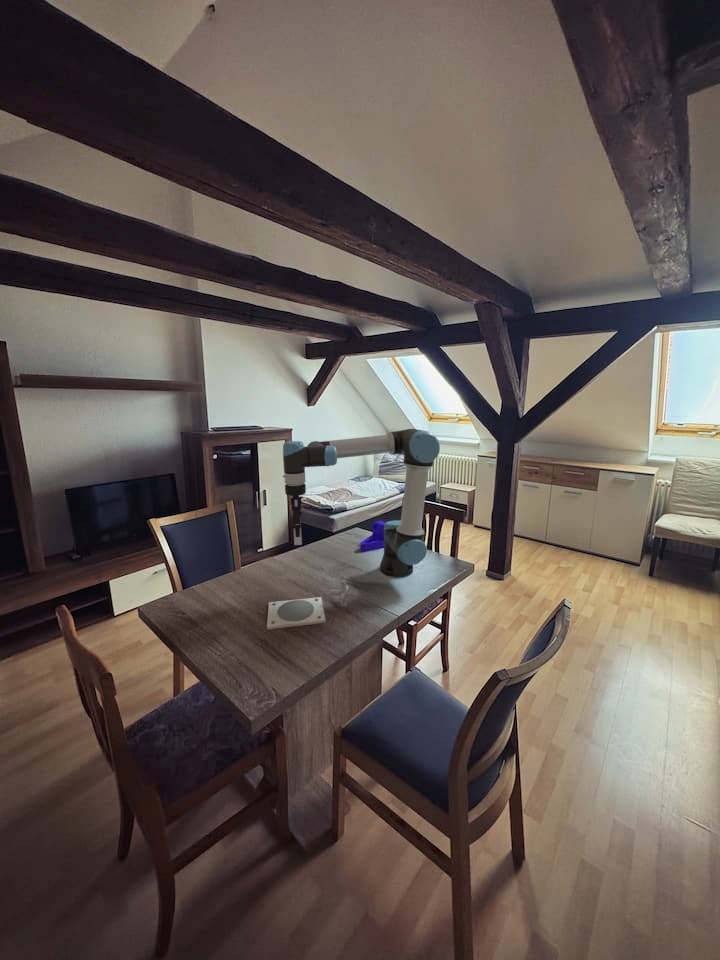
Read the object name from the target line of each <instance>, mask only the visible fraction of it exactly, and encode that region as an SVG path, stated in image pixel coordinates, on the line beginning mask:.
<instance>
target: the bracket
mask: <svg viewBox="0 0 720 960" xmlns="http://www.w3.org/2000/svg"><path fill="white" fill-rule="evenodd" d="M386 522H387V521H384V520H377V521H375V522H372V525H371V526H372V527H371V528H372V531H371V532H372V533H371V535H370V536H368V537H367V538H365V539H363V540H362V541H361V542H360V552H361V553H367V552H371V551H376V550H380V549H384V525H385V523H386Z"/></svg>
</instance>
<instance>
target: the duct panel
mask: <svg viewBox="0 0 720 960" xmlns="http://www.w3.org/2000/svg"><path fill="white" fill-rule="evenodd" d="M326 622H327V621H326V616H325V610H324V603H323V599H322V596H320V597H319V596H318V597H310V598H298V599H291V600H290V599H289V600H287V599H286V600H279V601H268V610H267V622H266V630H272V629H273V630H275V629H281V628H282V629H283V628H291V627H300V626H301V627H302V626H309V625H316V624H317V625H318V624H319V625H320V624H325V623H326Z"/></svg>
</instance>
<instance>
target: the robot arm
mask: <svg viewBox="0 0 720 960" xmlns="http://www.w3.org/2000/svg"><path fill="white" fill-rule="evenodd" d="M440 450H441V447H440V441H439V439H438V438H437V437H436V435H435V434H433V433H432V432H430V431H428V430H422V429H417V428H407V429H401V430H397V431H389V432H387V433H386V434H384V435H383V434H382V435H371V436H363V437H353V438H342V439H335V440H324V441H317V440H314V441H311V442H309V443H308V444H307V446H305V444H304V442H303V441H300V440H297V441H296V440H295V441H294V440H292V441H286V442H284V443H283V444H282V458H283V460H282V461H283V472H284V474H283V475H282V478H284V484H285V485H284V490H285V492H284V493H285V495H286V496H288V497H290V496H291V498H290V506H291V512H292V515H293V516H292V517H293V519H292V521H293V525H291V530H293V541H294V543H293V545H294V546H302V544H303V542H302V541H303V537H302V522H301V516H302V515H303V514H302V513H303V512H302V497H301V496H304V495H305V494H306V492H307V490H306V489H307V488H306V486H307V485H306V470H305V468H312V467H313V468H314V467H315V468H316V467H332V466H336V464H337V462H338V459H343V458H353V457H354V458H355V457H361V456H371V455H372V456H373V455H380V454H389V455H390V456H393V455H395V456H396V455H400V456H401V455H402V456H403V465H404V466H405V468H406V471H405V479H404V490H403V499H402V505H401V507H402V508H401V516H400V520H396V519H395V520H389V521H385V522H386V523H385V525H384V548H383V556H382V557H381V561H380V563H379V571H380V573H381V574H382V575H384V576H387V577H391V578H405V577H408V576H411V575H412V574H413V573H414V566H415V565H417V564H419V563H421V562H422V561H424V559H425V558H426V555H427V553H428V547H427V545H426V543H425V542H424V541H425V540H424V539H425V534H426V533H425V530H424V529H423V527H422V523H423V516H424V510H425V509H424V508H425V500H426V492H427V486H428V485H427V484H428V475H429V471H430V469H432V468H433V466H434V462H435V460H436V459H437V458H438V456H439V454H440Z"/></svg>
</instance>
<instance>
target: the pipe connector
mask: <svg viewBox="0 0 720 960" xmlns="http://www.w3.org/2000/svg"><path fill="white" fill-rule="evenodd" d="M349 588H350V586H349V585H348V584H347V580H345V579H342V580H341V581H340V589H330V592H329V594H330V595H333V596H334V595H335V596H338V598H337V601H338V602H339V603H341V607H343V608H345V607H346V606H347V597H352V598H357V596H358V592H357V591H350V590H349Z"/></svg>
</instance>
